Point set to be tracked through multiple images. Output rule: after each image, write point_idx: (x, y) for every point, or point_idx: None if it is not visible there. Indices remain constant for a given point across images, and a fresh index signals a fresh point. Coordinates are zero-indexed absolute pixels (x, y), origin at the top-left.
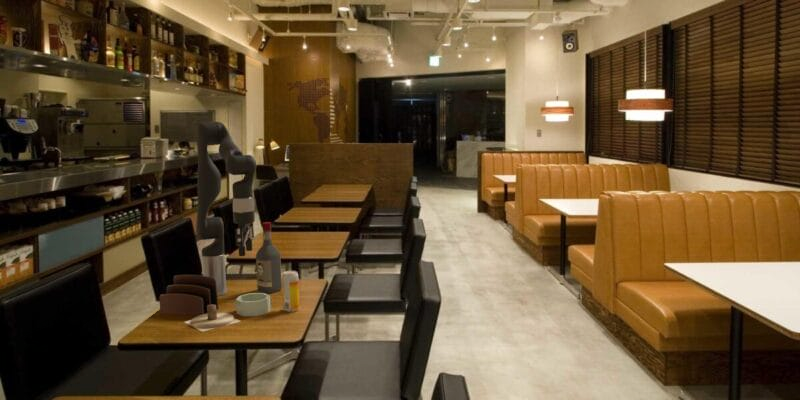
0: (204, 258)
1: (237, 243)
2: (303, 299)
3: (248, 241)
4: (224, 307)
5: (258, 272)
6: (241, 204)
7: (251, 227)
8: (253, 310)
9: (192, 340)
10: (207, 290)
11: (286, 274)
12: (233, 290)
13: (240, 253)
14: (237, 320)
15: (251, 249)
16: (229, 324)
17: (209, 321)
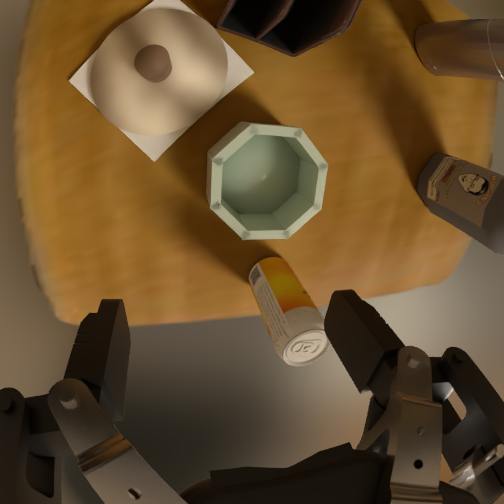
0: (501, 21)
1: (2, 419)
2: (349, 277)
3: (370, 372)
4: (321, 71)
5: (469, 172)
6: None
7: (452, 484)
8: (208, 190)
9: (24, 86)
10: (281, 10)
11: (285, 345)
12: (449, 92)
13: (83, 332)
14: (161, 147)
15: (328, 333)
16: (126, 134)
17: (130, 69)
